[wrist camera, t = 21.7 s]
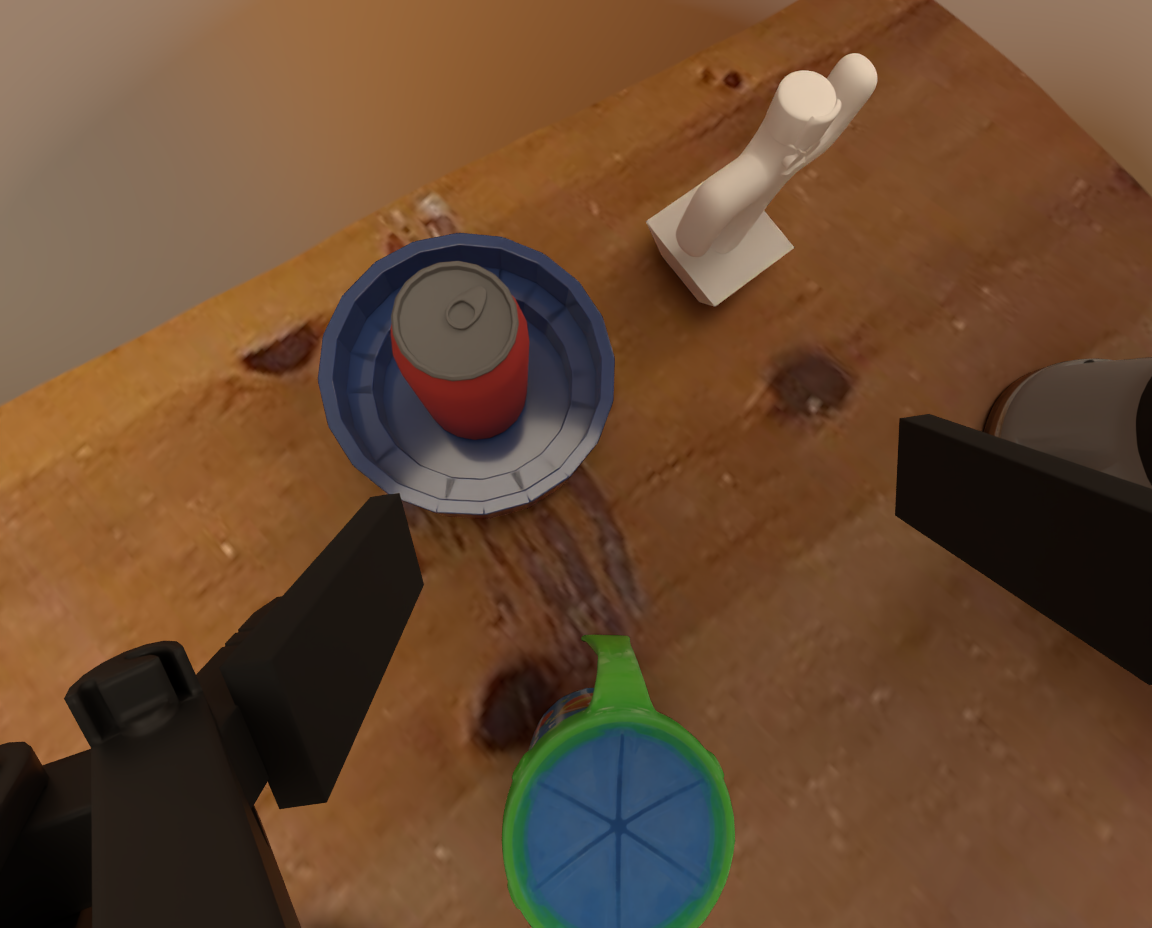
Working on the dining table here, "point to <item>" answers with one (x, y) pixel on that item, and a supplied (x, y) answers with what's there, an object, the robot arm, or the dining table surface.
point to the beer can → (462, 347)
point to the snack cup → (616, 811)
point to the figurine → (758, 183)
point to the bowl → (405, 427)
